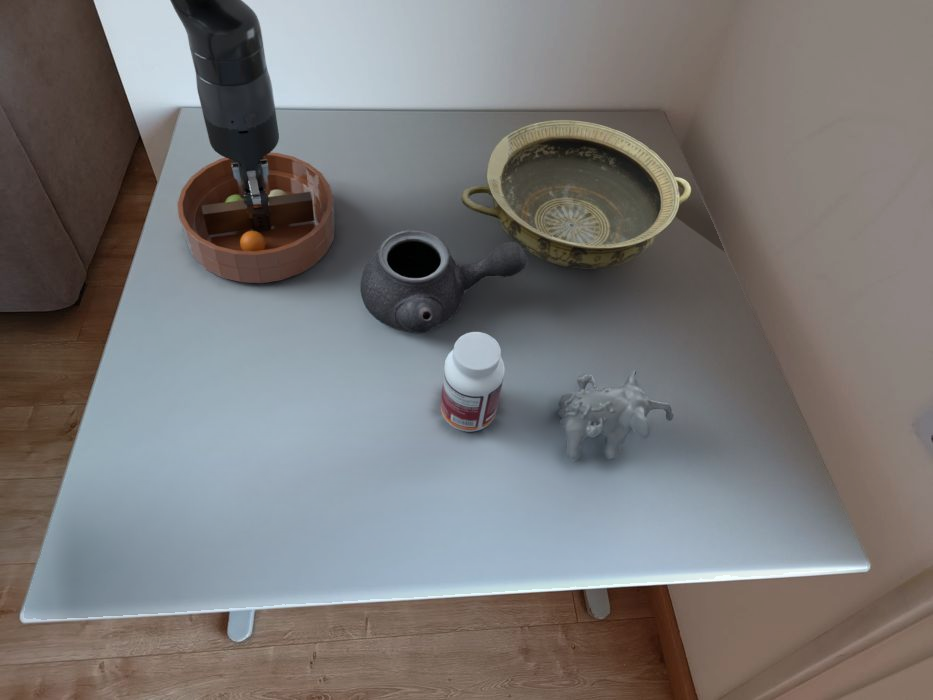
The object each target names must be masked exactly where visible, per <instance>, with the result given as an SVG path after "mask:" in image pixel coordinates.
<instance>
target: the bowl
mask: <svg viewBox="0 0 933 700" xmlns="http://www.w3.org/2000/svg"><path fill="white" fill-rule="evenodd" d="M266 159H267V164H268V169H269V175H268V183H269V189H270V192H271V191H272V190H282V191H284V192H285V193H286V194H287V195H288V194H296V193H304V192H310V193H311V197H312V203H313V212H314V221H309V222H301V223H294V224H286V225H279V226H272V227H271V229H270V230H269V231H262V232H259V233H260V234H262V235H263V237H264V238H265V241H266V246H265V249H264V250H261V251H243V250H242V248H241V246H240V240H241V237H242V236H243V234H245V233H246V232H248V231H253V229H250V230H242V231H235V232H228V233H220V234H213V235H208V231H207V228H206V224H205V220H204V217H203V211H202V205H209V204H217V203H225V201H226V199H227V198H228V197H229V196H231V195H240V192H239V187H238V182H237V180H236V179H235V178H234V175H233V170H232V165H231V163H232V162H231V159H228V158H226V157H222V158H219V159H217V160H215V161H213V162H211V163H208V164H207V165H205V166H203V167H202V168H200V169H199V170H198V171H197V172H195V173H194V174H193V175H192V176H191V177H190V178H189V179H188V180H187V182H186V183H185V185H183V188H182V189H181V191H180V194H179V197H178V201H177V212H178V214H177V215H178V219H179V222H180V226H181V228H182V232H183V235H184V238H185V241H186V244H187V248H188V249H189V251H190V253H191V255H192V257H193V258H194V260H195V261H196V262H197V263H198V264H199V265H201V266H202V267H203V268H204V269H205V270H206V271H208V272H210V273H212V274H213V275H216V276H218V277H220V278H223V279H226V280H230V281H234V282H237V283H250V284H251V283H252V284H264V283H265V284H266V283H271V282H272V283H273V282H279V281H284V280H286V279H289V278H292V277H294V276H297V275H300V274H302V273H304V272H305V271H307V270H308V269H310V268H312V267H313V266H315V265H316V264H317V263H319V261H321V259H322V258H323V257H324V256H325V255H326V254H327V253H328V251H329V249H330V247H331V245H332V243H333V242H334V239H335V231H336V221H335V220H336V218H335V207H334V195H333V192H332V188H331V184H330V183H329V181H328V180H327V179H326V178H325V176H324V175H323V173H322V172H321V171H320V170H318V169H317V168H316V167H314V166H313V165H312V164H310V163H309V162H306V161H304V160H303V159H299V158H297V157H295V156H292V155H288V154H285V153H284V154H283V153H280V152H273V151H271V152H270V153H269V154H267V155H266ZM263 182H264V181H263Z"/></svg>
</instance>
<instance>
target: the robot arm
mask: <svg viewBox="0 0 933 700" xmlns="http://www.w3.org/2000/svg"><path fill="white" fill-rule="evenodd" d="M169 2H170V3H171V5H172V7H173V9H174V11H175V13H176V15H177V17H178V18H179V20H180V22H181V24H182V25H183V28H184V29H185V32H186V35H187V40H188V47H189V50H190V55H191V59H192V63H193V67H194V72H195V82H196V90H197V95H198V99H199V102H200V107H201V111H202V115H203V120H204V124H205V128H206V132H207V137H208V141H209V145H210V147H211V148H212V149H213V151H214V152H216V153H217V154H218V155H220V156H222V158H225V157H226V158H228V159H231V162H232V163H231V165H232V170H233V175H234V178H235V179H236V180H237V182H238V187H239V192H240V196H241V198H243V200H244V204H245V203H246V209H247V216H249V218H251V223H252V228H253V231H257V232H262V231H269V230H270V229H271V225H270V219H269V216H270V213H271V211H270V208H269V202H268V200H269V197H268V195H270V189H269V183H268V175H269V169H268V164H267V159H266V155H267V154H269V153H270V152H273V150H275V148H276V146H277V145H278V143H279V142H280V141H279V140H280V132H279V126H278V119H277V110H276V105H275V104H276V103H275V97H274V91H273V84H272V80H271V76H270V73H269V70H268V65H267V59H266V54H265V47H264V39H263V33H262V27H261V23H260V20H259V18H258V16H257V13H256V12H255V11H254V10H253V9H252V7H250V6H249V5H248V4H247V3H246V2H245V1H243V0H169ZM263 181H264V182H263Z"/></svg>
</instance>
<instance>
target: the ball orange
mask: <svg viewBox="0 0 933 700" xmlns="http://www.w3.org/2000/svg"><path fill="white" fill-rule="evenodd" d="M240 246H241V248H242V250H243V251H261V250H264V249H265V246H266V241H265V238H264V237H263V235H262V234H260V233H259V232H257V231H248V232H246V233H245V234H243V236H242V237H241V240H240Z"/></svg>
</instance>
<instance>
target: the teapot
mask: <svg viewBox="0 0 933 700" xmlns="http://www.w3.org/2000/svg"><path fill="white" fill-rule="evenodd" d="M527 264H528V257H527V254H526V250H525V249H524V248H523V247H522V246H521V245H520V244H518V243H516V242H515V241H506V242H505V243H503V244H500V245H498V246H497V247H495V248H494V249H493V250H492V251H491V252H490V253H489V254H488V255H486V257H485V258H484V259H483V260H481V261H480V262H476V263H470V264H469V263H467V264H463V265H458V264H457V263H456V260H454V258H453V256H452V255H451V252H450V251H449V247H448V246H447V245H446V243H445V241H443V240H442V239H441V238H440V237H438V236H437V235H435V234H433V233H431V232H429V231H425V230H421V229H405V230H400V231H397V232H394V233H392V234H390V235H389V236H387V238H385V239H384V240H382V242H381V243H380V245H379V248H378V250H377V251H376V252H375V253H374V254H373V255H372V257H371V258H370V259H369V261H368V262H367V263H366V265H365V267H364V269H363V272H362V275H361V279H360V295H361V299H362V302H363V305H364V306H365V308H366V310H367V311H368V313H369V314H371V315H372V317H373V318H374V319H376V320H377V321H378V322H379V323H381V324H383V325H385V326H387V327H390V328H393V329H396V330H401V331H408V332H410V333H414V334H425V333H428V332H430V331H431V330H433V329H435V328H436V327H439V326H442V325H443V324H445V323H447V322H449V320H450V319H452V318H453V317H454V315H455V314H456V313H457V312H458V311H459V309H460V307H461V304H462V302H463V300H464V296H465V292H467V291H468V290H470V289H472V288H473V287H474V286H475V285H477V284H478V283H480V282H481V281H482V280H483V279H485V278H490V277H500V278H509V277H513V276H515V275H518V274H519V273H521V272H523V270H524V269H525V268H526V266H527Z"/></svg>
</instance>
